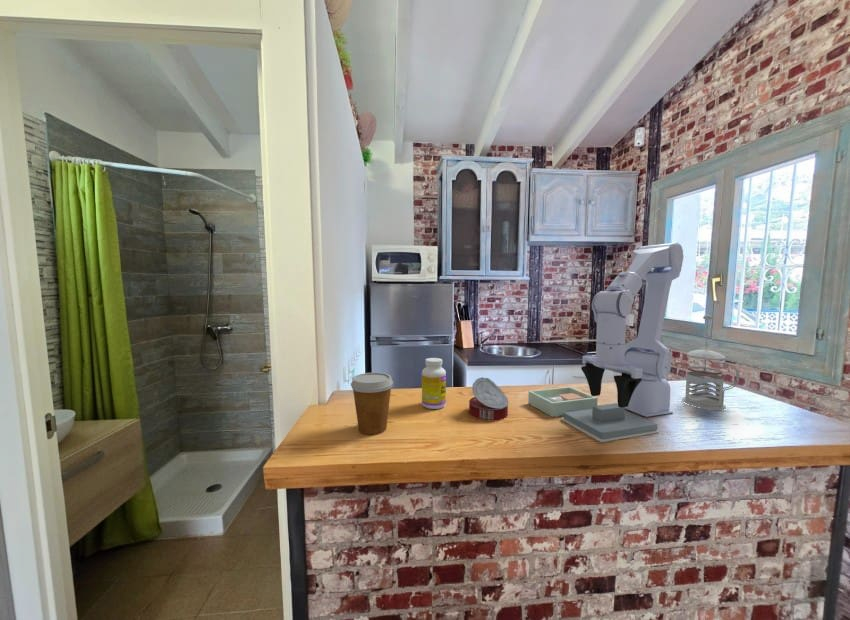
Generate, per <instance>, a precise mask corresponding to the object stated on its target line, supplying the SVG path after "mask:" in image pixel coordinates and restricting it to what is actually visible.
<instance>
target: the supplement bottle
mask: <svg viewBox="0 0 850 620" xmlns="http://www.w3.org/2000/svg"><path fill="white" fill-rule="evenodd" d="M424 364H425V367H424V368H423V369H422V371H421V405H422V406H423V408H426V409H429V410H440V409H443V408H444V407H445V406H446V405H447V371H446V369H444V367H442V365H443V359H442V358H438V357H429V358H425V363H424Z"/></svg>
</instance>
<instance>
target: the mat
mask: <svg viewBox="0 0 850 620" xmlns="http://www.w3.org/2000/svg"><path fill="white" fill-rule="evenodd" d="M560 420H561V421H562V422H564V423H565V424H566V423H567V424H568V425H570V426H572V427H573V428H575V429H576V430H579V431H580V432H582V433H584V434H585V435H587V436H589V437H591V438H593V439H594V440H596V441H598V442H600V443H605V442H611V441H617V440H623V439H627V438H630V439H631V438H635V437H640V436H645V435H646V436H647V435H653V434H658V433H660V430H658V429H657V430H656V431H650V432H644V433H638V434H632V435H626V436H620V437H614V438H608V439H600V438H598V437H597V436H595V435H593V434H591V433H589V432H587V431H586V430H584V429H582V428H580V427H578V426H577V425H575V424H573V423H571V422H569V421H568V420H566V419H564V417H561V418H560Z"/></svg>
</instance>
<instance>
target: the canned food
mask: <svg viewBox="0 0 850 620" xmlns="http://www.w3.org/2000/svg"><path fill="white" fill-rule="evenodd" d="M471 388H472V389H471V391H472V393H473V396H474V397H471V398H470V399H469V405H468V406H469V407H468V411H469V414H471V417H473V418H475V419H478V420H481V419H482V420H483V421H488V420H491V422H493V421H494V420H497V421H501V419H502V420H505V419H506V418H507V417H508V416H509V414H508V413H509V412H508V411H509V398H508V396H507V395H506V394H505V392H504V391H503V390H502V389H501V388H500V386H499V385H497V384H496V383H495V382H494V381H493V380H491V379H490V378H488V377H479V378H477V379H475V380H474V382H473V384H472V387H471ZM504 418H505V419H504ZM492 420H493V421H492ZM494 422H495V421H494Z"/></svg>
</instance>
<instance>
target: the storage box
mask: <svg viewBox="0 0 850 620" xmlns="http://www.w3.org/2000/svg"><path fill="white" fill-rule="evenodd" d="M527 395H528V402H527V403H528V405H530V404H531V405H530V406H532V407H534V408H536V409H537V408H538V410H539V409H540V410H539V411H541V412H543V413H544V414H547V415H548V416H550V417H552V418H554V417H561V416H562V417H564V413H565V412H573V411H581V410H588V409H593V406H598V396H591V394H589V393H587V392H583V391H581V390H579V389H576V388H574V387H572V386H565V387H554V388H553V387H552V388H546V389H545V388H544V389H535V390H528V394H527Z"/></svg>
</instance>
